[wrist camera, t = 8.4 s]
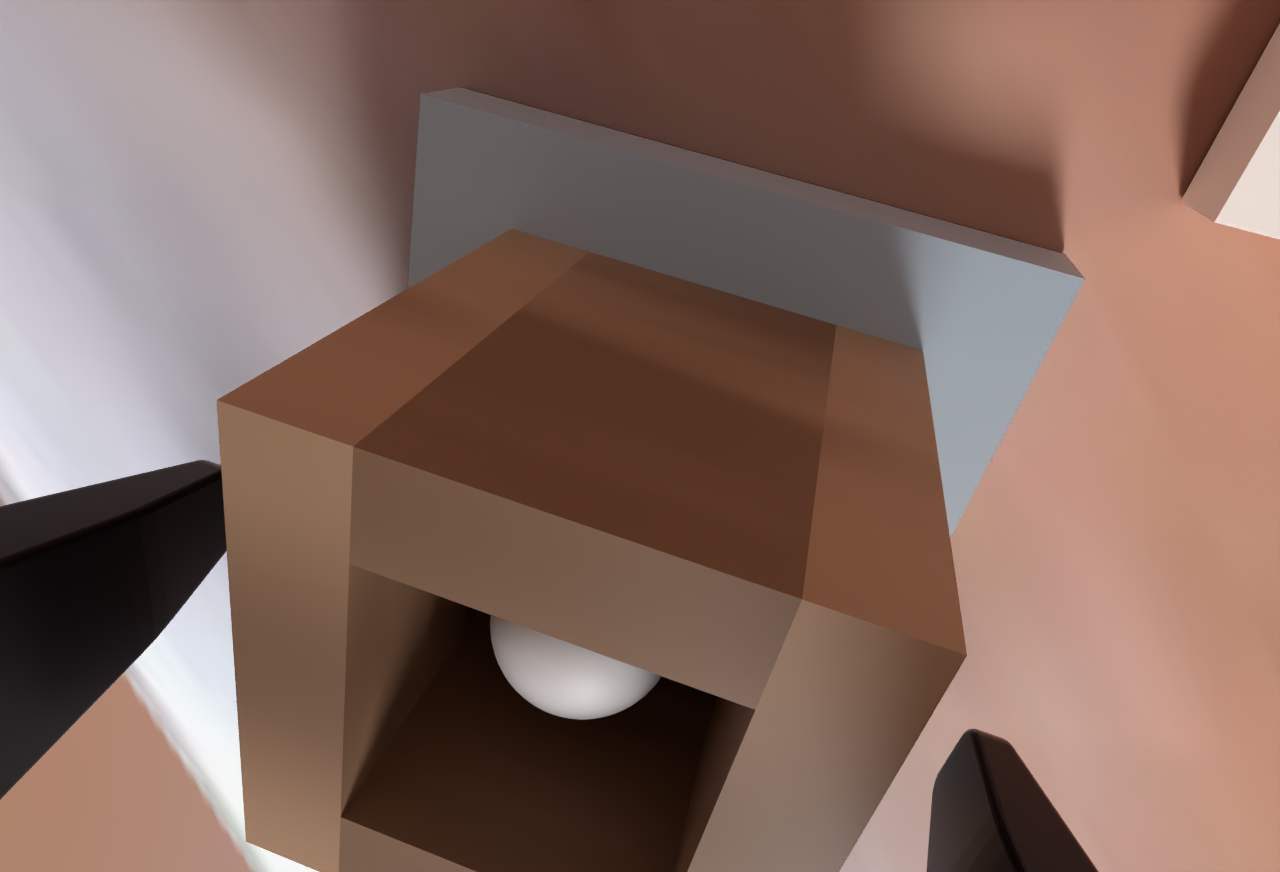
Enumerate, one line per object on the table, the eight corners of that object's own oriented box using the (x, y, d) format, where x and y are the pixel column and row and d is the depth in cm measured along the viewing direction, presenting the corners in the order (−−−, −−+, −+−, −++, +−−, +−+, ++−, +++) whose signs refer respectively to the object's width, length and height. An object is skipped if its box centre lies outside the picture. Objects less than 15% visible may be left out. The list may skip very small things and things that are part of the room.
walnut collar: (788, 661, 14) (737, 1044, 9) (469, 548, 14) (246, 841, 9) (923, 350, 11) (965, 655, 6) (511, 228, 11) (216, 399, 6)
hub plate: (1065, 254, 11) (1239, 472, 6) (843, 699, 15) (827, 1047, 10) (459, 86, 12) (135, 141, 7) (418, 548, 16) (206, 795, 11)
